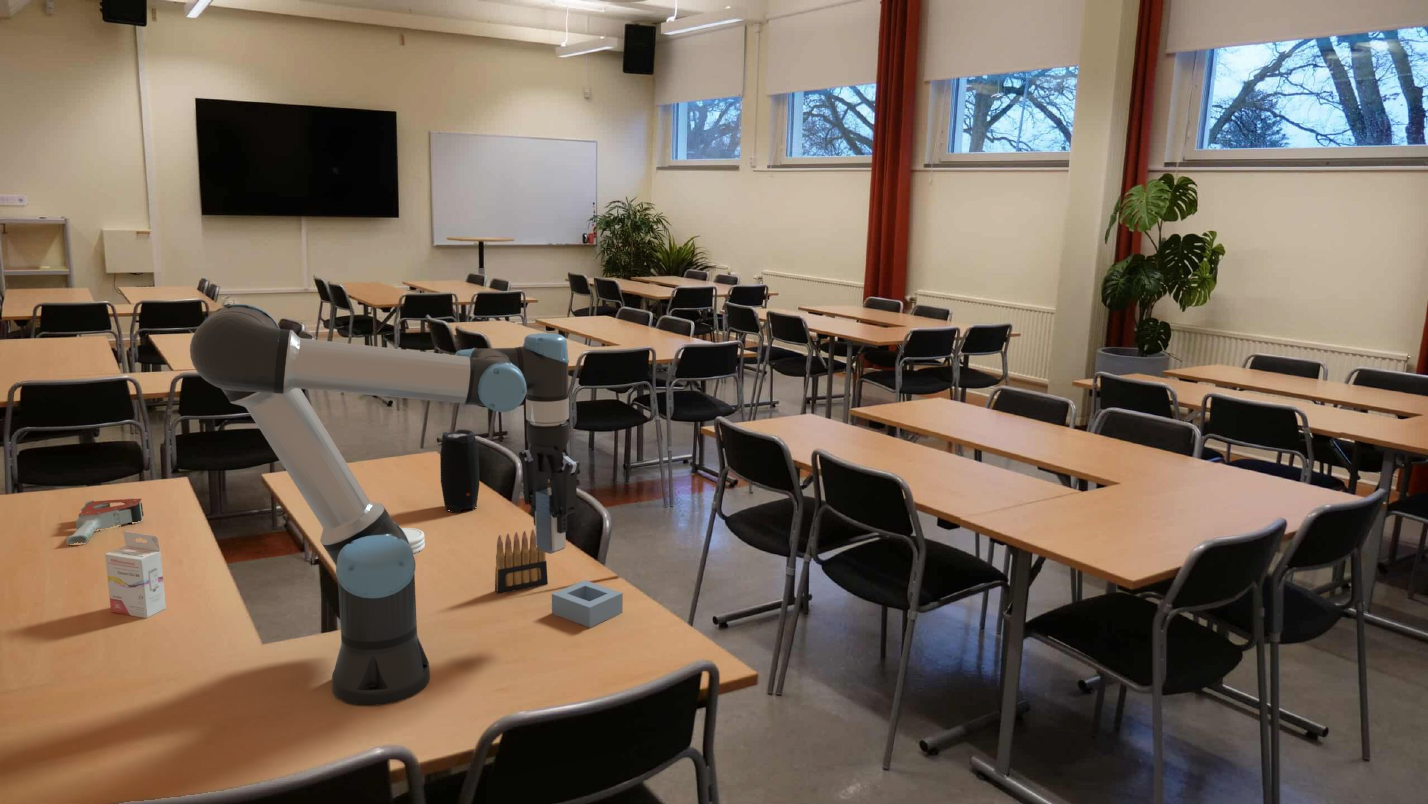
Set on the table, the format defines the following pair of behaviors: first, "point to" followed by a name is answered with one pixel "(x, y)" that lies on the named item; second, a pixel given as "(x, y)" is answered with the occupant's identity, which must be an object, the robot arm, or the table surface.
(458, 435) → the portable speaker
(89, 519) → the tape dispenser
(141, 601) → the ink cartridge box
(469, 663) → the table surface
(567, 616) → the slot block
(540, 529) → the steel pin
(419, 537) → the white ridged disc
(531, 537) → the ammunition clip
